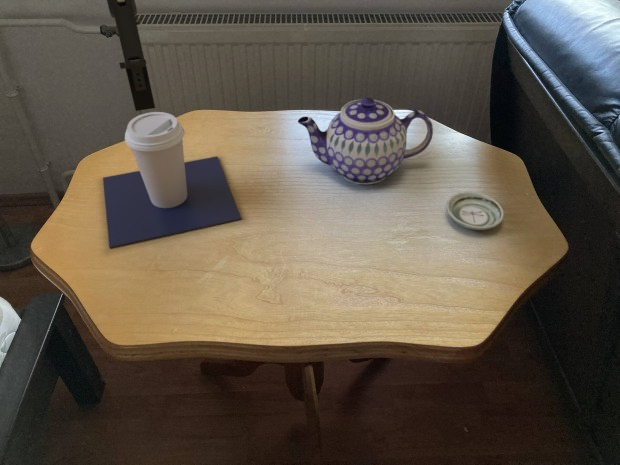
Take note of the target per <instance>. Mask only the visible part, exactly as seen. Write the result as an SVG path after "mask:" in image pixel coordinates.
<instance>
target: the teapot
mask: <svg viewBox="0 0 620 465" xmlns="http://www.w3.org/2000/svg"><path fill="white" fill-rule="evenodd" d="M415 119H421V120H422V121H424V123H425V125H426V135H425V137H424V140H423V141H422V142H421V143H420V144H418V145H417V146H415V147H413V148H411V149H407V137H408V136H407V134H408V130H409V127H410V125H411V123H412V121H413V120H415ZM297 123H298V124H300V125H302V126H303V127H305V128H306V130H307V132H308V136H309V140H310V141H309V142H310V146H311V149H312V152H313V154H314V156H315V158H317V160H319V161H320V162H322V163H323V164H326V165H329V166H330V167H331V168H332V169H334V170H335V171H336V172H337V173H338V174H339V175H340V176H342V177H343V178H344V179H345V180H347V181H348V182H350V183H353V184H356V185H357V184H358V185H373V184H377V183H381V182H383V181H384V180H386V178H387V177H389V176H390V175H392V174H393V173H394V172H395V171H397V169H399V167H400V166H401V164H402V162H403V160H404V159H409V158H412V157H415V156H417V155H419V154H420V153H422V152H424V151H425V150H426V149H427V148H428V146H429V145H430V144H431V141H432V139H433V135H434V126H433V123H432V121H431V120H430V118H429V117H428V116H427V114H426V113H424V112H423V111H422V110H418V109H416V110H413V111H412V112H410V113H408V114H407V115H406V116H405V117H404V118H399V116H397V114H396V113H395V111H394V109H393V107H391V105H389V104H388V103H386V102H383V101H381V100H377V99H374V98H373V97H370V96H367V97H363V98H361V99H355V100H351V101H348V102H347V103H345V104H344V105H343V106H342V107H341V109H340V112H338V113H337V114H336V115H334V117H333V118H332V119H331V121H330V122H329V123H328V126H327V128H326V129H325V130H324V131H322V130H320V127H319V126H318V125H317V123H316V121H315V120H314V119H313V118H312V117H310V116H308V115H307V116H306V115H305V116H301V117H300V118H299V119H298V120H297Z"/></svg>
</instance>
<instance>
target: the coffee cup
mask: <svg viewBox="0 0 620 465" xmlns="http://www.w3.org/2000/svg"><path fill="white" fill-rule="evenodd" d="M126 126H127V127H126V130H125V134H124V142H125V144H126V146H128V147H129V148H130V149H131V150H130V151H131V152H132V155H133V157H134V161H135V163H136V165H137V168H138V171H140V173H141V176H142V178H143V181H144V184H145V186H146V189H147V192H148V194H149V197H150V200H151V202H152V204H153V205H155V206H157V207H160V208H172V207H176V206H178V205H180V204H182V203H183V202H184V201H185V200H186V198H187V186H186V175H185V164H184V162H185V153H184V141H183V138H184V137H185V132H186V131H185V129H184V127H183V124H182V123H181V122H180V121H179V120H178V119H177V118H176V116H175V115H173V114H171V113H168V112H163V111H152V112H151V111H150V112H145V113H142V114H139V115H137V116H135V117H133V118H132V119H131V120H130V121H129V122H128V123H127V125H126Z"/></svg>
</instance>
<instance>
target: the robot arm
mask: <svg viewBox="0 0 620 465" xmlns="http://www.w3.org/2000/svg"><path fill="white" fill-rule="evenodd" d="M106 2H107V7H108V11H109V14H110V16H111V18H113V19H114V21H115V25H116V29H117V34H118V38H119V42H120V46H121V51H122V56H123V59H124V61H123V62H119V69H120V70H124V69H125V72H126V76H127V80H128V85H129V89H130V93H131V97H132V101H133V104H134V110H135V111H136V112H139V111H145V110H146V111H147V110H152V109H156V105H155V100H154V96H153V91H152V90H153V89H152V85H151V82H150V77H149V73H148V72H149V71H148V67H147V60H146V59H145V56H144V51H143V47H142V42H141V39H140V33H139V29H138V26H140V20H139V16H137V15H138V9H137V5H136V4H137V3H136V0H106Z"/></svg>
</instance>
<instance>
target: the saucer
mask: <svg viewBox="0 0 620 465" xmlns="http://www.w3.org/2000/svg"><path fill="white" fill-rule="evenodd" d="M445 210H446V212H447V215H448V216H449V217H450V218H451V220H453V221H454V222H455V223H457V225H460V226H462V227H464V228H466V229H470V230H474V231H475V230H476V231H486V230H491V229H494V228H496V227H497V226H499V225H500V224H501V223H502V222H503V220H504V217H505V213H504V212H505V211H504V208H503V207H502V205H501V204H500V203H499V201H497V200H495V199H494V198H492V197H491V196H489V195H488V194H487V195H486V194H484V193H481V192H477V191H461V192H457V193H455V194H452V195H451V196H450V197H449V198H448V199H447V201H446V204H445Z"/></svg>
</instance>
